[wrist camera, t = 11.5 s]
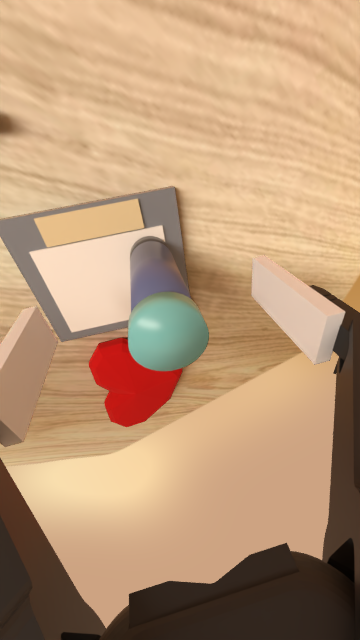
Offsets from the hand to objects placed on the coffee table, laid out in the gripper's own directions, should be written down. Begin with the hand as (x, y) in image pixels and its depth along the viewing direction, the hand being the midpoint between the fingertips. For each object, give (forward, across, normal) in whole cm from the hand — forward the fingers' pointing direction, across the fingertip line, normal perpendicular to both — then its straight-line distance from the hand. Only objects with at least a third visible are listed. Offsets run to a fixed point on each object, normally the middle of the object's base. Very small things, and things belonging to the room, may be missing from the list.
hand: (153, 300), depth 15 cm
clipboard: (+9, -3, -1) cm, 10 cm away
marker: (+8, +1, 0) cm, 8 cm away
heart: (+9, -4, -14) cm, 18 cm away
